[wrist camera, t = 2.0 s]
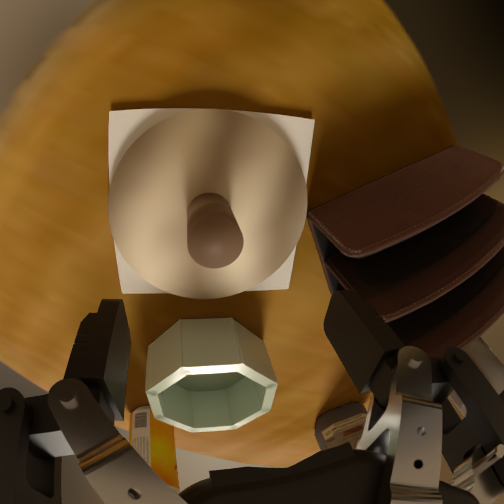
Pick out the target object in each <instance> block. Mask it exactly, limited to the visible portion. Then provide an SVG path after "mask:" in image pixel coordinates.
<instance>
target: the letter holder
mask: <svg viewBox="0 0 504 504" xmlns="http://www.w3.org/2000/svg"><path fill="white" fill-rule="evenodd" d="M503 173H504V165H503V164H502V163H500V162H498V161H496V160H494V159H492V158H489V157H487V156H484V155H481V154H479V153H476V152H474V151H471V150H468V149H465V148H462V147H459V146H452V147H450V148H447V149H446V150H443V151H441V152H438V153H436V154H434V155H432V156H429V157H427V158H424V159H423V160H420V161H418V162H416V163H413V164H411V165H409V166H407V167H405V168H402V169H400V170H397V171H395V172H393V173H391V174H389V175H386V176H384V177H382V178H380V179H378V180H375V181H373V182H371V183H369V184H367V185H364V186H362V187H360V188H358V189H356V190H353V191H351V192H349V193H347V194H345V195H342V196H341V197H338V198H336V199H334V200H332V201H330V202H328V203H325V204H324V205H321V206H319V207H317V208H315V209H312V210H310V211H309V212H307V214H306V218H307V220H308V224H309V227H310V230H311V232H312V235H313V238H314V241H315V245H316V248H317V251H318V254H319V257H320V260H321V264H322V267H323V270H324V274H325V277H326V280H327V283H328V287H329V290H330V293H331V295H332V294H333V292H334V291H339V290H350V289H352V290H354V291H355V292H356V294H357V295H358V296H359V297H360V298H361V299H362V300H364V301H365V302H367V303H368V304H370V305H371V306H373V307H374V308H375V309H376V311H377V312H378V313H379V314H380V317H382V318H383V319H384V320H385V322H386V324H388V325H389V326H390V328H391V329H392V330H393V331H394V333H395V334H396V335H397V336H398V337H399V339H400V340H401V341H402V342H403V344H404V345H405V346H414V347H417V348H419V349H421V350H423V351H424V352H425V353H426V354H427V355H428V357H442V355H443V354H444V352H445V351H446V349H447V348H449V347H457V348H460V349H462V350H463V349H465V348H466V347H467V346H469V345H470V344H471V343H472V342H474V341H475V340H476V339H477V338H479V337H480V336H481V335H482V334H483V333H484V332H485V331H486V330H487V329H488V328H489V327H491V325H493V324H494V323H495V322H496V321H497V320H498V318H499V317H500V316H501V315H502V314H503V313H504V204H503V203H501V202H499V201H497V200H495V199H493V198H490V197H489V196H487V195H485V194H482V193H484V192H485V191H486V190H487V189H488V188H489V187H491V186H492V185H493V184H494V183H495V182H496V181H497V180H499V178H500V177H501V176H502V174H503Z"/></svg>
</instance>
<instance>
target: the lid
mask: <svg viewBox="0 0 504 504" xmlns="http://www.w3.org/2000/svg"><path fill="white" fill-rule="evenodd" d="M307 204H308V202H307V188H306V182H305V178H304V175H303V171H302V168H301V166H300V164H299V162H298V160H297V158H296V156H295V154H294V153H293V151H292V150H291V148H290V147H289V146H288V144H287V143H286V142H285V141H284V140H283V139H282V138H281V137H280V136H279V135H278V134H277V133H276V132H275V131H273V130H272V129H271V128H270V127H268V126H267V125H265V124H263V123H262V122H260V121H259V120H257V119H254V118H252V117H250V116H247V115H245V114H242V113H238V112H234V111H230V110H222V109H198V110H192V111H187V112H183V113H180V114H177V115H174V116H171V117H169V118H167V119H165V120H163V121H161V122H159V123H157V124H156V125H154V126H153V127H151V128H150V129H148V130H147V131H145V132H144V133H143V134H142V135H141V136H140V137H139V138H138V139H136V140H135V142H134V143H133V144H132V145H131V146H130V147H129V149H128V150H127V151H126V153H125V154H124V156H123V157H122V159H121V161H120V162H119V164H118V166H117V168H116V171H115V173H114V175H113V179H112V182H111V186H110V190H109V198H108V217H109V224H110V229H111V232H112V235H113V239H114V241H115V243H116V245H117V248H118V250H119V252H120V253H121V255H122V256H123V258H124V259H125V261H126V262H127V263H128V264H129V266H130V267H131V268H132V269H133V270H134V271H135V272H136V273H137V274H138V275H139V276H140V277H142V278H143V279H144V280H146V281H147V282H149V283H150V284H151V285H153V286H155V287H157V288H159V289H161V290H163V291H166V292H168V293H171V294H174V295H177V296H181V297H186V298H193V299H214V298H222V297H227V296H231V295H235V294H238V293H241V292H243V291H246V290H248V289H250V288H252V287H254V286H256V285H258V284H259V283H261V282H263V281H264V280H265V279H267V278H268V277H269V276H271V275H272V274H273V273H274V272H275V271H276V270H277V269H279V268H280V267H281V265H282V264H283V263H284V262H285V261H286V260H287V259H288V257H289V256H290V254H291V253H292V251H293V250H294V248H295V246H296V244H297V242H298V240H299V238H300V236H301V233H302V230H303V228H304V224H305V219H306V214H307Z"/></svg>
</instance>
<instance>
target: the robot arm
mask: <svg viewBox="0 0 504 504" xmlns="http://www.w3.org/2000/svg"><path fill="white" fill-rule="evenodd" d="M324 331H325V334H326V336H327V338H328V339H329V341H330V343H331V344H332V346H333V348H334V349H335V351H336V353H337V355H338V356H339V358H340V360H341V361H342V363H343V365H344V367H345V368H346V370H347V372H348V373H349V375H350V377H351V379H352V380H353V382H354V384H355V386H356V387H357V389H358V391H359V393H360V394H361V393H364V392H367V391H372V393H373V395H372V396H371V398H370V402H369V407H368V412H367V417H366V422H365V426H364V431H363V435H362V437H361V440H360V442H359V443H358V445H357V447H356V449H353V448H352V446H351V444H350V442H348V443H345V444H342V445H339V446H336V447H333V448H329V449H326V450H323V451H319V452H317V453H316V454H314V455H312V456H310V457H308V458H306V459H304V460H303V461H301V462H299V463H297V464H295V465H293V466H291V467H288V468H262V467H261V468H260V467H241V468H233V469H224V470H215V471H209V473H210V478H208V479H205V480H202V481H199V482H197V483H195V484H193V485H191V486H189V487H188V488H186V489H185V490H183V491H182V492H181V493H179V494H177V493H176V492H175V491H174V490H172V489H171V488H170V487H169V486H168V485H167V484H166V483H165V482H164V481H163V480H162V479H161V478H160V477H159V476H158V475H157V473H156V472H155V471H154V470H153V469H152V468H151V467H150V466H149V465H148V464H147V463H146V462H145V460H144V459H143V458H142V457H141V456H140V455H139V454H138V453H137V451H136V450H135V449H134V448H133V447H132V445H131V444H130V443H129V442H128V441H127V440H126V439H125V438H124V437H122V435H121V434H120V433H119V431H118V430H117V429H116V428H115V426H114V420H116V421H124V407H125V394H126V382H127V372H128V363H129V355H130V346H131V340H130V331H129V326H128V322H127V317H126V312H125V307H124V303H123V300H122V299H102V300H101V303H100V306H99V309H98V312H97V313H89V314H88V315H87V316H86V317H85V318H84V319H83V321H82V322H81V324H80V327H79V329H78V332H77V335H76V338H75V342H74V343H75V344H74V345H73V348H72V351H71V354H70V358H69V361H68V365H67V368H66V372H65V375H64V378H63V380H60V381H58V382H56V383H55V384H54V385H53V386H52V387H51V389H50V390H49V393H48V394H46V395H41V396H34V397H28V398H24V397H23V395H22V394H21V393H20V392H19V391H18V390H16V389H14V388H3V389H1V390H0V504H62V502H61V461H62V456H65V455H72V454H75V455H76V457H77V459H78V460H79V467H80V469H81V470H82V472H83V474H84V475H85V477H86V478H87V480H88V481H89V483H90V484H91V485H92V487H93V488H94V490H95V491H96V492H97V493H98V495H99V496H100V498H101V499H102V500H103V501H104V503H105V504H493V503H494V502H495V501H496V500H497V499H498V498H499V497H500V496H501V495H502V494H503V493H504V364H503V363H502V362H501V361H500V359H499V358H498V357H497V356H496V355H495V354H494V353H493V352H492V351H491V350H490V346H489V345H488V344H487V343H486V342H485V341H484V340H483V339H482V338H481V336H480V337H479V338H477V339H476V340H475V341H474V342H472V343H471V344H470V345H469V346H467V347H466V348H465V349H463V350H462V349H460V348H457V347H449V348H447V349H446V351H445V352H444V354H443V355H442V357H428V355H427V354H426V353H425V352H424V351H423V350H421V349H419V348H417V347H414V346H405V345H404V344H403V342H402V341H401V340H400V339H399V337H398V336H397V335H396V334H395V333H394V331H393V330H392V329H391V328H390V326H389V325H388V324H386V322H385V320H384V319H383V318H382V317H380V314H379V313H378V312H377V311H376V309H375V308H374V307H373V306H371V305H370V304H368V303H367V302H365V301H364V300H362V299H361V298H360V297H359V296H358V295H357V294H356V292H355V291H354V290H352V289H350V290H339V291H334V292H333V294H332V296H331V300H330V303H329V306H328V310H327V313H326V316H325V319H324ZM448 396H450V397H451V399H452V400H453V401H454V403H455V404H456V406H457V407H458V408H459V410H460V411H461V412H462V414H463V415H464V417H465V418H464V419H463V420H461V419H460V417H459V416H458V414H457V413H456V411H455V410H454V408H453V407H452V405H451V403H450V402H449V400H448V399H447V398H448ZM441 453H442V454H443V456H444V458H445V460H446V461H447V463H448V465H449V467H450V469H451V471H452V473H453V478H452V479H451V480H450V481H449V484H448V483H445V482H443V481H440V480H439V477H440V467H441Z"/></svg>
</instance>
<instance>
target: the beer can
mask: <svg viewBox="0 0 504 504" xmlns="http://www.w3.org/2000/svg"><path fill="white" fill-rule="evenodd" d="M129 443H130V444H131V445H132V447H133V448H134V449H135V450H136V451H137V453H138V454H139V455H140V456H141V457H142V458H143V459H144V460H145V462H146V463H147V464H148V465H149V466H150V467H151V468H152V469H153V470H154V471H155V472H156V473H157V475H158V476H159V477H160V478H161V479H162V480H163V481H164V482H165V483H166V484H167V485H168V486H169V487H170V488H171V489H172V490H174V491H175V492H176V493H177V494H179V493H180V489H179V481H178V472H177V462H176V452H175V439H174V426H173V425H170V424H167V423H165V422H162V421H160V420H158V419H155V418H154V415H153V412H152V409H151V406H142V407H139V408H137V409H135V411H134V412H132V413H131V415H130V427H129Z"/></svg>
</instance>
